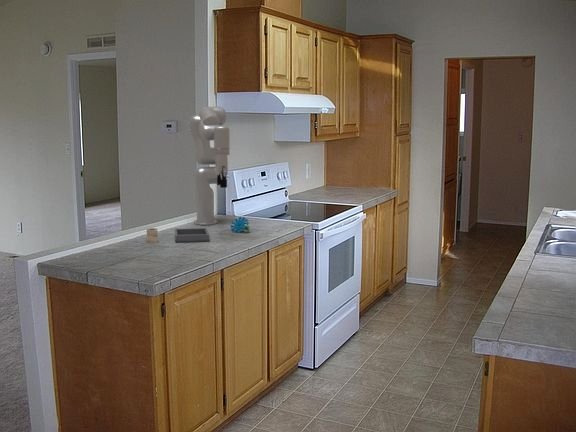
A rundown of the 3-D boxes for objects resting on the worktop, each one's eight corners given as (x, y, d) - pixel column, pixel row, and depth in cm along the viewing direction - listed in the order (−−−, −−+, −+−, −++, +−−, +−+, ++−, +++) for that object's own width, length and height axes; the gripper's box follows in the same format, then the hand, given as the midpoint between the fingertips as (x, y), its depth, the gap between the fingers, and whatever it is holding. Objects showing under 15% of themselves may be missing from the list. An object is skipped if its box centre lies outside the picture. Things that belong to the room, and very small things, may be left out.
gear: (226, 228, 325) (236, 213, 329) (230, 234, 330) (240, 220, 334) (242, 234, 319) (252, 219, 323) (246, 240, 324) (256, 225, 328)
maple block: (147, 240, 303) (146, 228, 302) (157, 240, 304) (157, 227, 303) (147, 242, 298) (146, 230, 297) (157, 242, 299) (157, 229, 298)
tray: (174, 235, 314) (174, 229, 313) (206, 234, 317) (206, 228, 316) (175, 242, 298) (175, 235, 298) (209, 241, 302) (209, 234, 301)
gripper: (211, 150, 312) (211, 184, 315) (217, 153, 295) (217, 188, 298) (226, 150, 314) (226, 183, 317) (232, 152, 297) (232, 188, 300)
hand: (222, 186), depth 307 cm, fingers open, 9 cm apart
